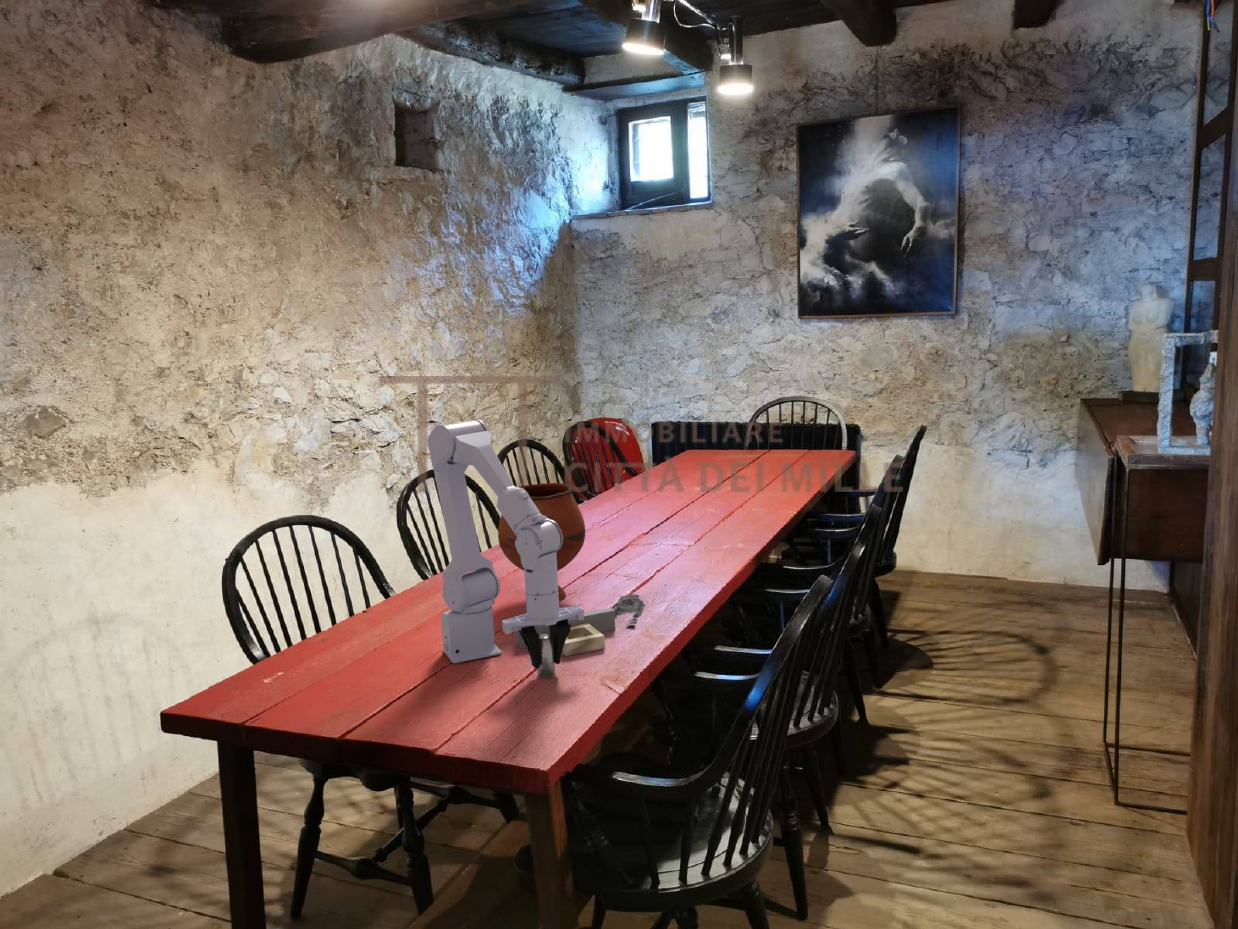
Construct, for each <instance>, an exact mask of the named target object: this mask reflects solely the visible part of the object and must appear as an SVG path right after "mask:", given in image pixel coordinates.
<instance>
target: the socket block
mask: <svg viewBox="0 0 1238 929" xmlns="http://www.w3.org/2000/svg"><path fill="white" fill-rule="evenodd" d="M605 642H606V640H605V635H604V634H603V632H601V633H600V632H599V631H598V630H596V629H595V628H594V627H592V626H591V625H590V624H588V623H586V624H581V625H575V626H571V631H570V633H569V635H568V637H567V639H566V641H565V644H564V647H563V650H562V654H561V655H564V657H570V656H575V655H579V654H584V653H589V652H593V651H597V650H601V649H602V650H603V649H605V648H606V645H605Z"/></svg>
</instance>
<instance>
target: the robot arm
mask: <svg viewBox="0 0 1238 929" xmlns="http://www.w3.org/2000/svg"><path fill="white" fill-rule="evenodd" d="M493 440H494V439H493V434H492V433H491V432H490V431H489V429H488V426H487V425H486V424H485V422H484V421H482V420H481V419H478V418H474V419H471V420H466V421H459V422H454V423H448V424H437V425H434V427H433V428H432V430H431V432H430V434H429V435H428V437H427V440H426V441H427V446H428V451H429V456H430V461H431V466H432V470H433V473H434V477H435V483H436V487H437V492H438V496H439V502H440V507H441V512H442V518H443V522H444V526H445V531H446V536H447V542H448V546H449V552H450V557H451V561H450V562H449V563H448V565H447V566H446V567H445V569H444V570H443V571H442V573H441V576H442V582H443V583H442V598H443V601H444V602H445V604H446V606H447V607H448V608H449V610H448V611H447V610H446V611H444V612H442V613H441V633H442V646H443V648H442V651H443V652H444V653H445V655H446V656H447V658H448V659H449V660H450V662H451V663H452V664H458V663H464V662H468V661H472V660H473V661H474V660H479V659H483V658H489V657H494V656H499V655H502V652H503V651H502V650H501V649H500V648H499V647H498V646H497V645H496V644H495V630H494V628H495V627H494V617H493V616H494V614H493V605H494V604H496V598H498V596H499V594H500V592H501V583H500V582H501V581H500V578H499V577H498V574H497V573H496V571H495V568H494V565H493V561H492V560H491V559H489V558H487V557H486V556H484V555H482V553H481V550H480V545H479V540H478V536H477V530H476V526H475V521H474V515H473V511H472V506H471V501H470V496H469V490H468V486H467V481H466V474H465V473H466V470H467V469H468V467H469V466H472V467H474V468H475V470H476V471H477V473H478V474H479V475H480V476H481V477H482V479H483V480H484V482H486V484H487V485H488V486H489V488H490V489H491V490H492V491H493V492H494V494H495V495H496V496H497V501H496V507H497V509H498V511H499V512H500V514H501V515H503V517H504V518H505V520H506V521H507V523H508V524H509V526H510V527H511V529H512V530H513V532H514V533H515V535H516V536H517V540H516V541H515V546H516V549H517V551H518V553H519V555H520V557H521V564H522V566H523V568H524V571H523V572H524V586H525V588H524V589H525V603H526V605H525V606H526V607H525V608H526V613H523V614H520V615H517V616H514V617H510V618H507V619H503V620H501V623H502V624H501V625H502V631H503V633H504V634H505V635H508V634H512V632H516V631H518V632H519V633H520V635H521V637H522V639H523V640H524V642H525V644H526V649H527V651H528V654H529V658H530V661H531V666H532V667H533V668H534V669H537V670H538V668H540V661H539V637H540V635H539V634H538V633H537V632H536V630H535V627H539V626H544V625H546V626H548V625H549V629H550V635H553V644H554V663H555V665H560V664H561V658H562V655H563V654H562V650H563V647H564V644H565V641H566V639H567V637H568V635H569V633H570V631H571V625H570V624H568V621H571V620H576V619H578V620H583V619H584V613H585V612H584V608H583V607H581V606H580V605H577V606H573V607H572V606H570V607H560V601H559V594H558V585H559V580H558V576H559V574H558V571H557V555H556V551H558V550H559V549H560V548H561V546H562V543H563V536H562V532H561V530H560V528H559V526H558V524H557V523H556V522H555V521H553V520H551V519H548V518H547V517H546V516H544V515H542V514H541V513H540V511H539V510H538V508H537V507H536V505H535V504H534V503H533V501H532V500H531V498H530V497H529V494H528V493H527V491H525V490H524V489H523V488H519V487H520V486H515V484H514V483H513V482H512V480H511V478H510V477H509V475H508V473H507V471H506V469H505V468H504V465H503V464H502V463H501V460H500V459H499V457H498V456H497V453H496V452H495V450H494V448H493Z"/></svg>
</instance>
